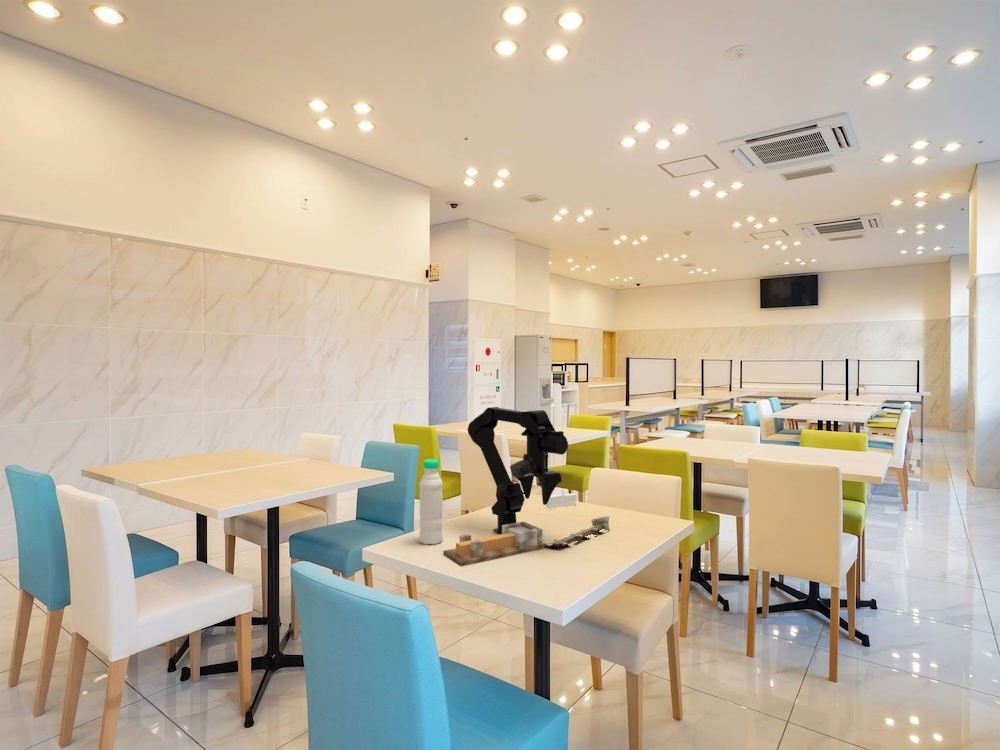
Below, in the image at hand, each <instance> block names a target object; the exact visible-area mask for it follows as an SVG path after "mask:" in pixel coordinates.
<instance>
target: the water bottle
mask: <svg viewBox="0 0 1000 750" xmlns="http://www.w3.org/2000/svg"><path fill="white" fill-rule="evenodd" d="M422 465H423V470H424V473H423V475H422V477H421V480H420V481H419V517H420V519H419V542H420V543H421V544H423V545H428V544H432V545H437V544H439V543H442V541H443V540H444V538H443V537H444V535H443V526H444V525H443V523H444V522H443V507H444V506H443V505H444V503H443V500H444V499H443V495H444V494H443V480H442V478H441V476H440V473H439V472H438V470H439V466H440V463H439V460H438V459H425V460H423V463H422Z"/></svg>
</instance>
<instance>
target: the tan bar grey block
mask: <svg viewBox="0 0 1000 750" xmlns="http://www.w3.org/2000/svg"><path fill="white" fill-rule="evenodd" d="M527 530H529V529H527V528H525V527H522V526H520V527H514V528H509V529H508V533H506V534H496V535H492V536H487V537H481V538H480V537H479V538H475V539H471V540H469V541H463V542H460V541H458V542H456V543H455V549H456V554H457V555H459V556H461V557H462V556H467V555H471V542H473V541H478V540H481V541H483V552H486V551H491V550H496V549H501V548H506V547H511V546H518V532H522V531H527Z"/></svg>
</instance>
